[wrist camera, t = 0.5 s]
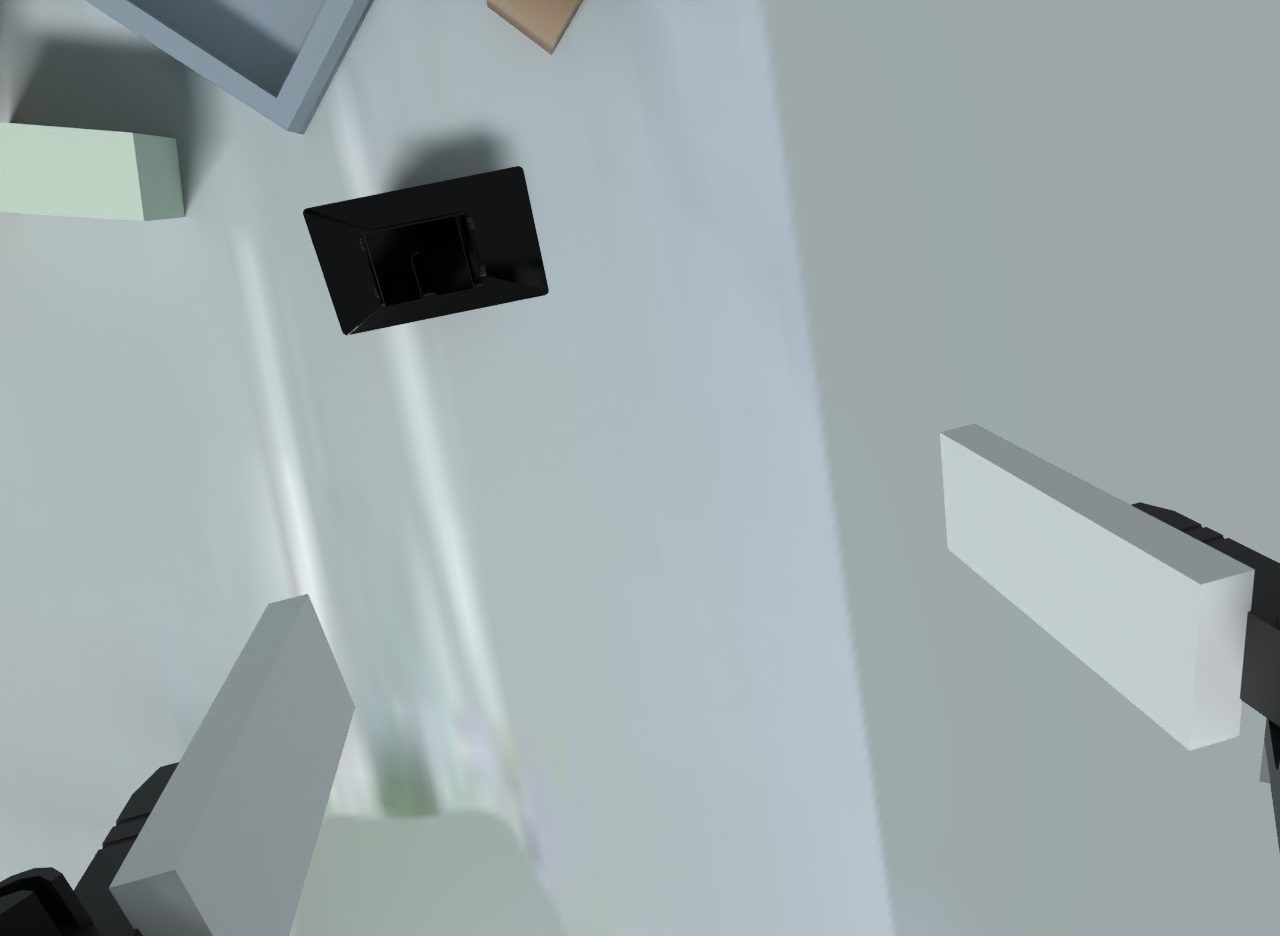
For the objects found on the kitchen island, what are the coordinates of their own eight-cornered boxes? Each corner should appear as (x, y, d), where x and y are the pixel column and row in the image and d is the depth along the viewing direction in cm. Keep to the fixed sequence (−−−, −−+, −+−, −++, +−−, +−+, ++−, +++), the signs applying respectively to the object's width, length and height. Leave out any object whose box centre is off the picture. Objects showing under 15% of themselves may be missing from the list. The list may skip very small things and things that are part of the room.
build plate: (317, 357, 36) (289, 381, 32) (261, 190, 33) (221, 191, 29) (584, 302, 37) (592, 318, 32) (549, 134, 34) (553, 128, 30)
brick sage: (24, 206, 32) (-41, 209, 28) (10, 125, 31) (-59, 117, 27) (185, 216, 33) (144, 221, 29) (177, 138, 32) (132, 132, 28)
